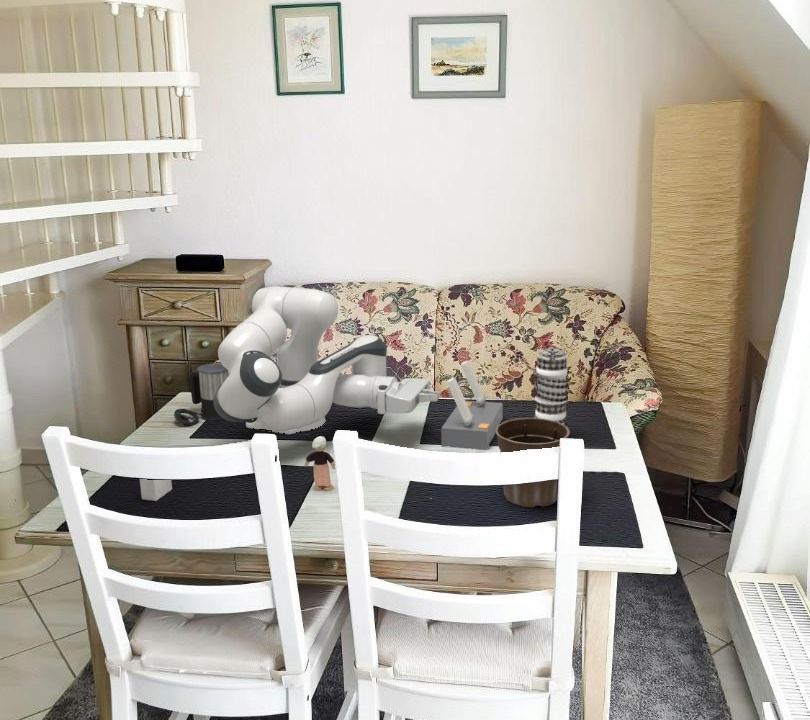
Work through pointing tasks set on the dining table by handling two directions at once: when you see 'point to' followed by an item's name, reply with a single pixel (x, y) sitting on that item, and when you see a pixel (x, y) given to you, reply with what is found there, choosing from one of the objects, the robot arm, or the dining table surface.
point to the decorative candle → (551, 385)
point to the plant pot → (526, 437)
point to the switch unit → (472, 426)
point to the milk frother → (203, 392)
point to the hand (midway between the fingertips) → (438, 396)
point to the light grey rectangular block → (154, 488)
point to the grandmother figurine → (321, 464)
